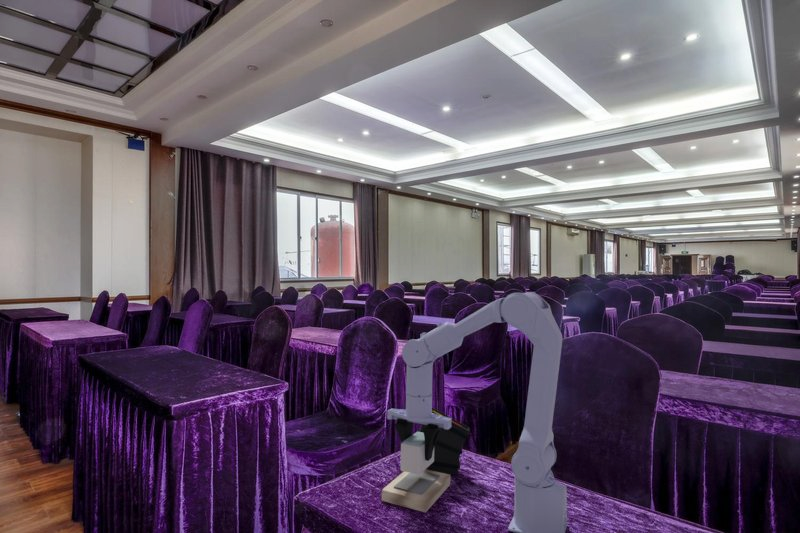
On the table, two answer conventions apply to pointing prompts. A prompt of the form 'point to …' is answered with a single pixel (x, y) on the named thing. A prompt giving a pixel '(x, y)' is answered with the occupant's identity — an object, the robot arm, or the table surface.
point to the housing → (414, 454)
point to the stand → (416, 489)
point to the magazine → (448, 446)
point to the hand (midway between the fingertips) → (417, 456)
